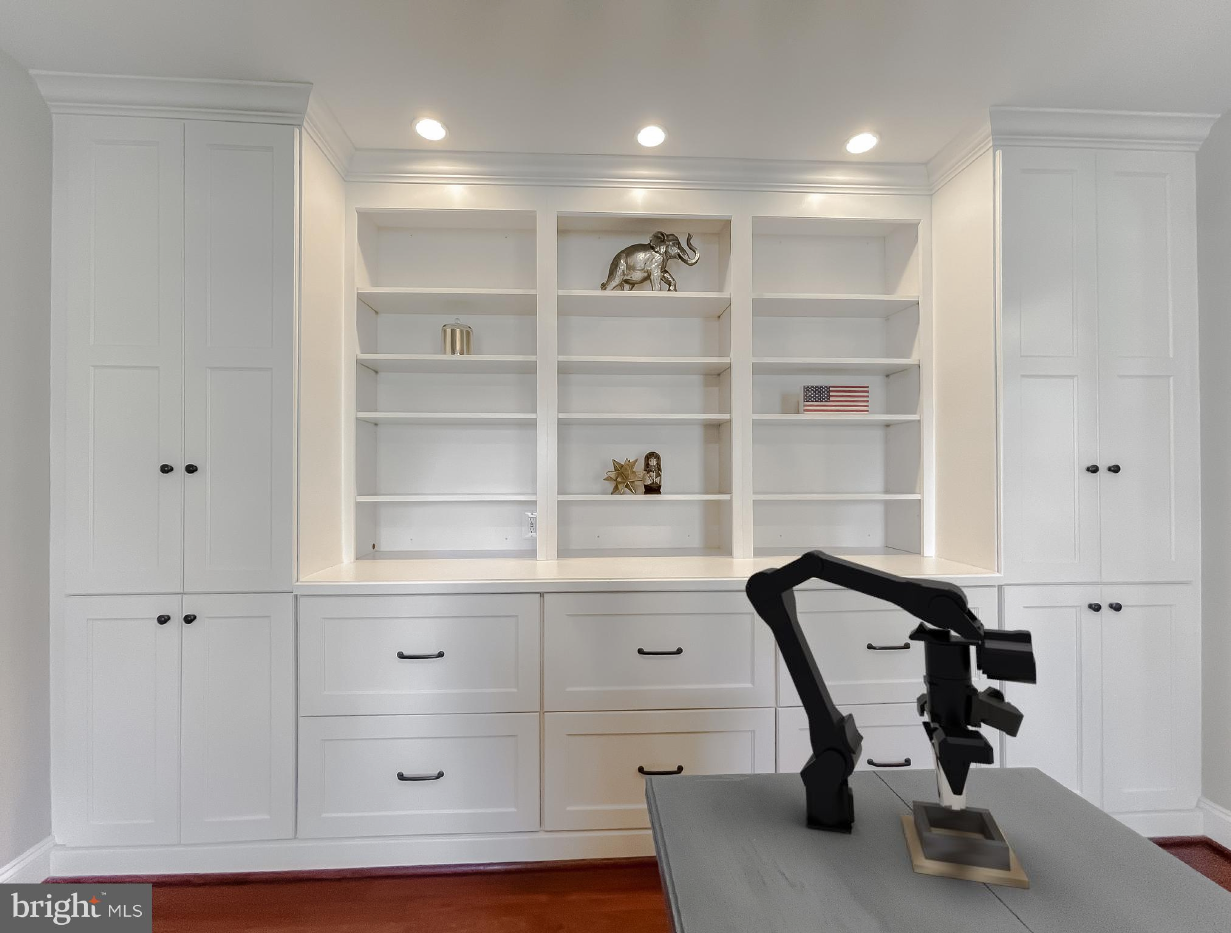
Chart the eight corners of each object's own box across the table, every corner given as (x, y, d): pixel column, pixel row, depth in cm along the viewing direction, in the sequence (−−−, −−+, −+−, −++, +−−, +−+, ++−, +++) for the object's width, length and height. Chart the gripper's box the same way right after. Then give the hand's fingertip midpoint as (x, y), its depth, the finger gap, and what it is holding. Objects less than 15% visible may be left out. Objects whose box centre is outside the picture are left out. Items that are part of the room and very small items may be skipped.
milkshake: (983, 816, 81) (978, 740, 82) (939, 813, 82) (935, 738, 83) (970, 799, 86) (966, 727, 86) (929, 796, 87) (925, 725, 87)
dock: (914, 872, 80) (912, 840, 80) (901, 821, 92) (899, 794, 92) (1029, 889, 76) (1027, 856, 76) (999, 833, 88) (997, 805, 88)
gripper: (1038, 700, 74) (1046, 832, 73) (995, 660, 91) (1001, 765, 91) (936, 693, 77) (942, 819, 76) (913, 655, 95) (918, 757, 94)
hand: (954, 787), depth 84 cm, fingers closed on milkshake, 4 cm apart
